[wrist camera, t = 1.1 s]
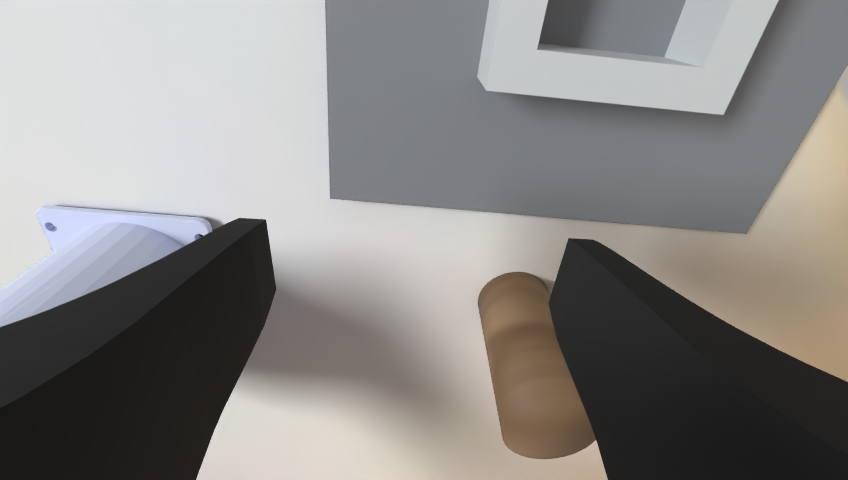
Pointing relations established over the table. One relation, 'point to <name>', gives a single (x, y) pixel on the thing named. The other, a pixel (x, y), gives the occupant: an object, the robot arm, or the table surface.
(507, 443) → the walnut peg
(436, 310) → the table surface
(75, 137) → the table surface
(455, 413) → the table surface
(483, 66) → the grey flat piece
